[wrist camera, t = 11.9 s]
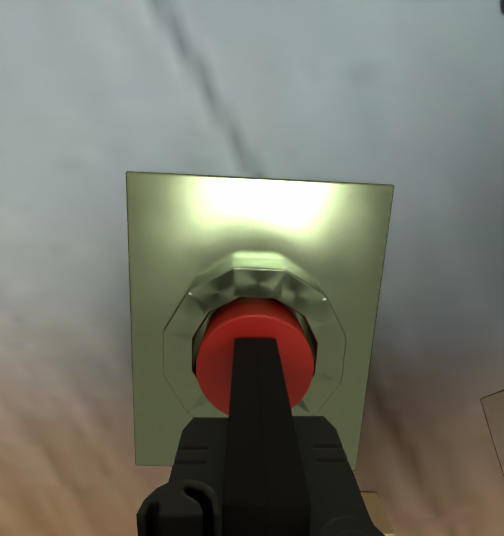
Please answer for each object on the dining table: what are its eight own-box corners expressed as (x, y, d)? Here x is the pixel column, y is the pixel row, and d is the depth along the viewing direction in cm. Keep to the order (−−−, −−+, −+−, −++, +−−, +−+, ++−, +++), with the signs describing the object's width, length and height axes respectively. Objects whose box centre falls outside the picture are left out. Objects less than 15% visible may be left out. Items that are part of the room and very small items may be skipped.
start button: (300, 393, 15) (309, 423, 13) (201, 390, 15) (194, 420, 13) (309, 298, 14) (319, 316, 12) (203, 294, 14) (196, 311, 12)
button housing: (343, 439, 19) (368, 503, 15) (147, 434, 19) (121, 498, 15) (375, 185, 16) (416, 183, 12) (141, 173, 16) (107, 167, 12)
